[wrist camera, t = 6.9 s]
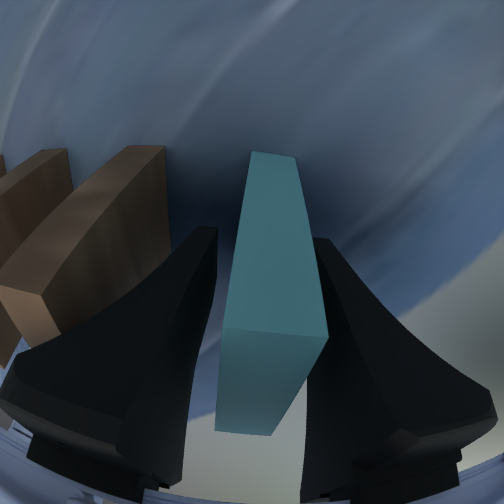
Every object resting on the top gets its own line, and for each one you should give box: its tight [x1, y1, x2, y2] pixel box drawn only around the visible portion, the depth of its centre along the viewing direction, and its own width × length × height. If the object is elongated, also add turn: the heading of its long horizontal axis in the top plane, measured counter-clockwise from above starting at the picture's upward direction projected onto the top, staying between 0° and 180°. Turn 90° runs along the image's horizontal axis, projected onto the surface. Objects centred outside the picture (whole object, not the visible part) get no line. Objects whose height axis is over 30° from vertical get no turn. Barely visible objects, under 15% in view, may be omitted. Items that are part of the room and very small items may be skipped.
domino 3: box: [215, 151, 329, 436], centre depth 9 cm, size 2×5×8 cm, turn 173°
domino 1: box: [0, 148, 74, 369], centre depth 9 cm, size 2×5×8 cm, turn 175°
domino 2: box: [0, 146, 171, 348], centre depth 9 cm, size 2×5×8 cm, turn 175°
